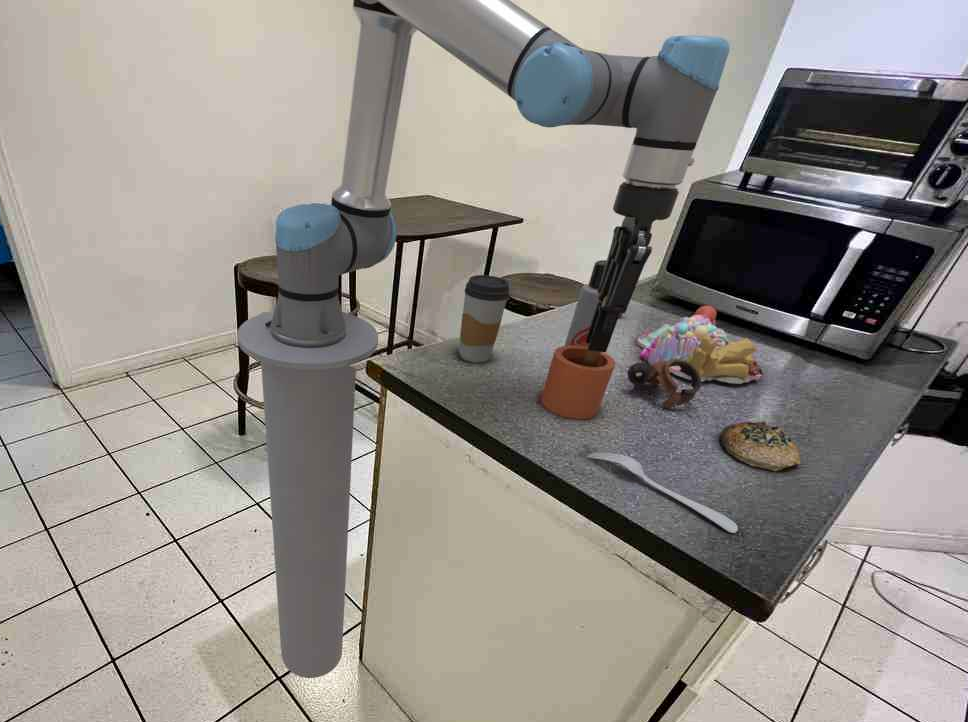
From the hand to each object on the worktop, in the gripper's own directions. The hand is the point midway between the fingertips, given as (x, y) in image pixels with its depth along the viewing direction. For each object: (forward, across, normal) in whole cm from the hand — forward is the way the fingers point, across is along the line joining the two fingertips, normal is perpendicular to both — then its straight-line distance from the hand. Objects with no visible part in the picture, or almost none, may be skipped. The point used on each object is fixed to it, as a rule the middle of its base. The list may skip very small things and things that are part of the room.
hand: (595, 346), depth 85 cm
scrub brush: (+7, 0, 0) cm, 7 cm away
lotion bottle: (+11, +18, -2) cm, 21 cm away
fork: (+11, -22, -8) cm, 26 cm away
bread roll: (+11, -7, -27) cm, 30 cm away
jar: (+11, 0, +1) cm, 11 cm away
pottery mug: (+11, +8, -15) cm, 20 cm away
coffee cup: (+11, +15, +18) cm, 26 cm away
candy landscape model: (+11, +28, -27) cm, 40 cm away
